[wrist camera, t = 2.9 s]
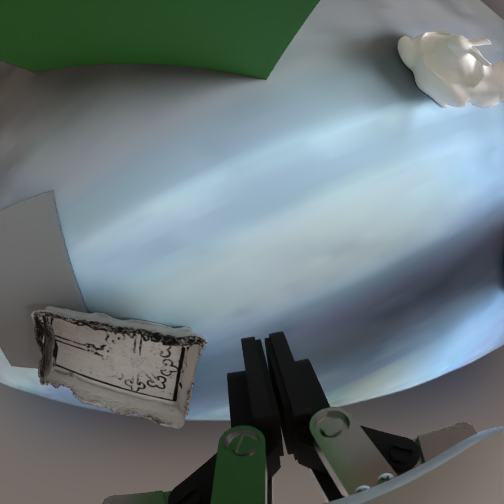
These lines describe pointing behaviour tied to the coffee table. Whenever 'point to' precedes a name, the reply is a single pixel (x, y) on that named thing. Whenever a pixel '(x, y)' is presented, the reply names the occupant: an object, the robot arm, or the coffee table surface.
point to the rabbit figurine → (453, 69)
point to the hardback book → (150, 33)
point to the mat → (32, 275)
